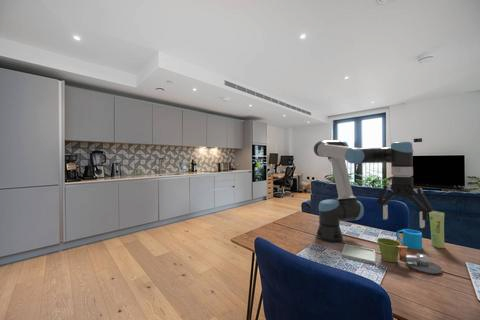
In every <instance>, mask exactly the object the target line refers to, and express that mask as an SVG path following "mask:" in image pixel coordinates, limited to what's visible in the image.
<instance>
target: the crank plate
mask: <svg viewBox="0 0 480 320" xmlns="http://www.w3.org/2000/svg"><path fill="white" fill-rule="evenodd" d="M404 263H405V265H406V266H407V267H409V268H410V269H412V270H414V271H416V272H420V273H423V274H427V275H435V276H438V274H439V275H441V274H442V273H443V271H442V270H443V269H442V267H441V266H440V265H438V264H437V263H435V262H433V261H430V260H429V266H422V265H419V264H417V263H416V262H404Z"/></svg>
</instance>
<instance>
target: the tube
mask: <svg viewBox="0 0 480 320" xmlns="http://www.w3.org/2000/svg"><path fill="white" fill-rule="evenodd" d="M428 215H429V217H428V218H429V225H430V226H429V227H430V239H431V246H433V247H434V248H440V249H444V248H445V212H441V211H436V210H434V211H432V212H428Z"/></svg>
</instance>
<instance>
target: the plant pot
mask: <svg viewBox="0 0 480 320" xmlns="http://www.w3.org/2000/svg"><path fill="white" fill-rule="evenodd" d="M376 241H377V244H378V247H379V251H380V256H381V260H383V261H385V262H388V263H397V262H398V258H399V249H398V248H397V246H402V242H401V241H400V242H399V240H395V239H392V238H386V237H385V238H384V237H379V238H377V239H376Z"/></svg>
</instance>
